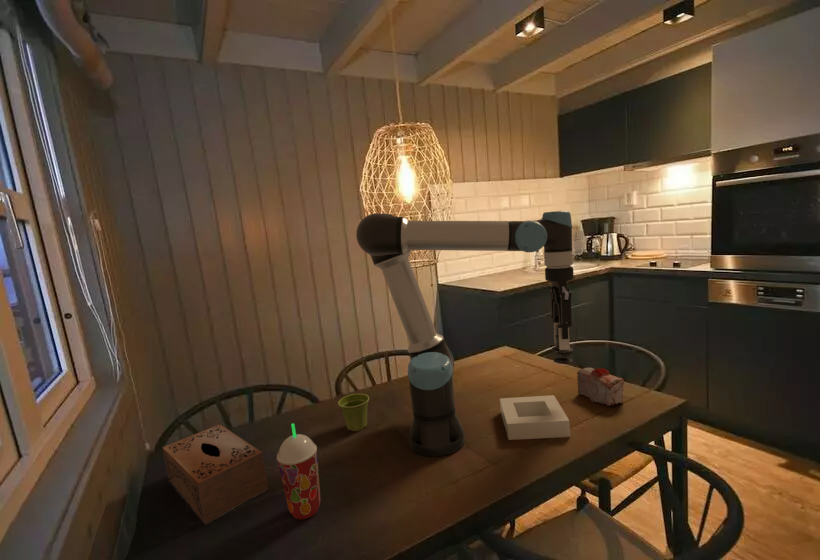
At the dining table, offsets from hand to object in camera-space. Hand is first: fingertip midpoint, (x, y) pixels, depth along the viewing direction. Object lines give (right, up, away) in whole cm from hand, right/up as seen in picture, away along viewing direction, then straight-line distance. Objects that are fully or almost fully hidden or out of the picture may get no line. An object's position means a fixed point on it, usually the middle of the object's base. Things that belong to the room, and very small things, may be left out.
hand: (562, 346), depth 117 cm
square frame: (-9, -22, -2) cm, 23 cm away
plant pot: (-60, -26, +8) cm, 66 cm away
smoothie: (-67, -31, -29) cm, 79 cm away
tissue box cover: (-92, -33, -16) cm, 99 cm away
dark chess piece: (0, -4, +1) cm, 4 cm away
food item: (+15, -18, +9) cm, 25 cm away
